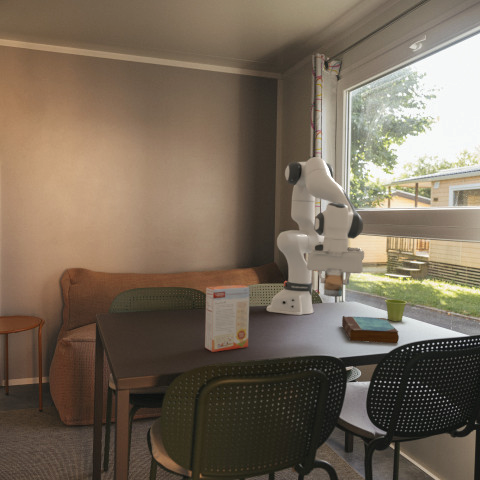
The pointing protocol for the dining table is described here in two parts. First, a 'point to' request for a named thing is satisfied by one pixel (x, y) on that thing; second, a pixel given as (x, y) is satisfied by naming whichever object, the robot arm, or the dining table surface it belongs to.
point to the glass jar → (333, 282)
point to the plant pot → (395, 309)
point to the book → (369, 329)
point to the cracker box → (227, 317)
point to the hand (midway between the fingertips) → (333, 283)
